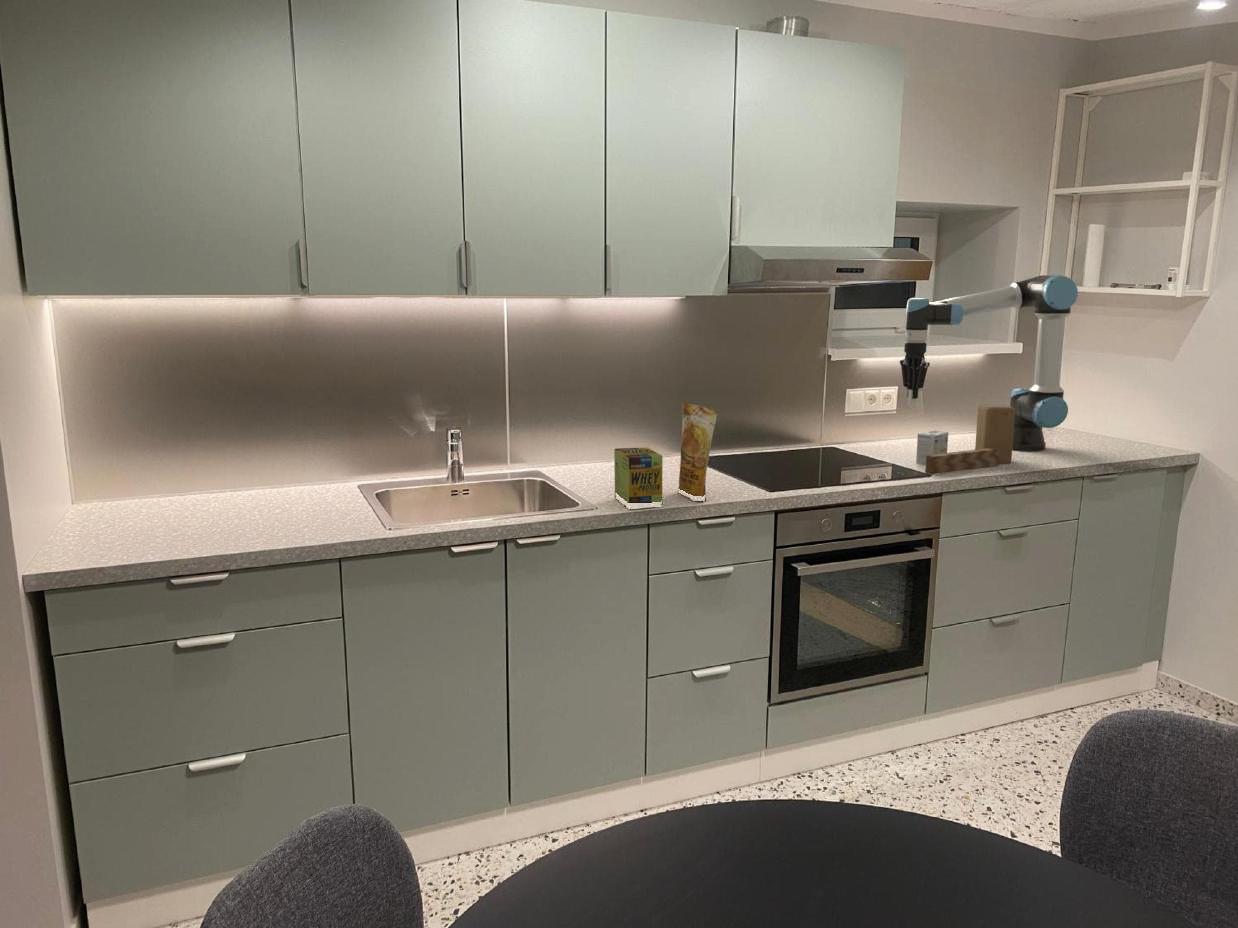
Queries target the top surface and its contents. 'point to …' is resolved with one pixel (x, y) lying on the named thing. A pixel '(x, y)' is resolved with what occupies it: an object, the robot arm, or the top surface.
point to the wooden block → (996, 429)
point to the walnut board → (962, 460)
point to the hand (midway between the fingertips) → (911, 407)
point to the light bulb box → (931, 444)
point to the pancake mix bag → (695, 447)
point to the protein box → (638, 475)
